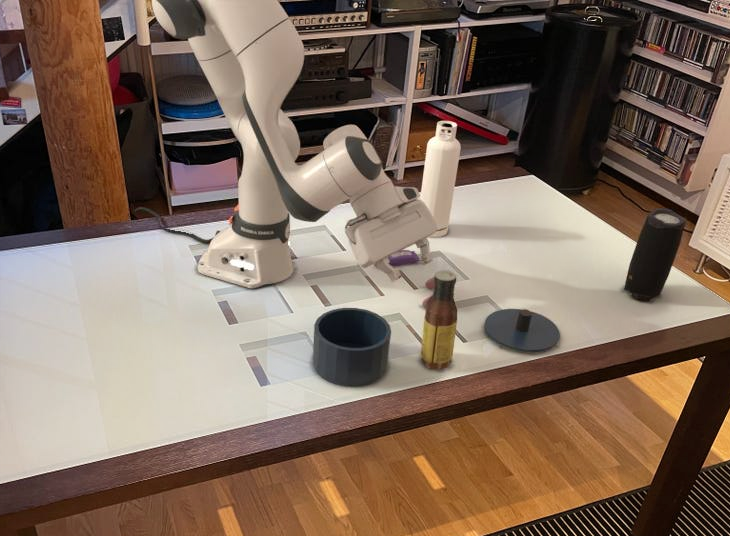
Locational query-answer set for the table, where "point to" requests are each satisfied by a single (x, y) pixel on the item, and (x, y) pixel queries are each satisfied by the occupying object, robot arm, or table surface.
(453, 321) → the sauce bottle
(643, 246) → the portable speaker
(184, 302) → the table surface
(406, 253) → the snack package
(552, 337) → the lid
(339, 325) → the round dark pot
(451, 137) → the white gas cylinder
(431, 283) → the video game controller
